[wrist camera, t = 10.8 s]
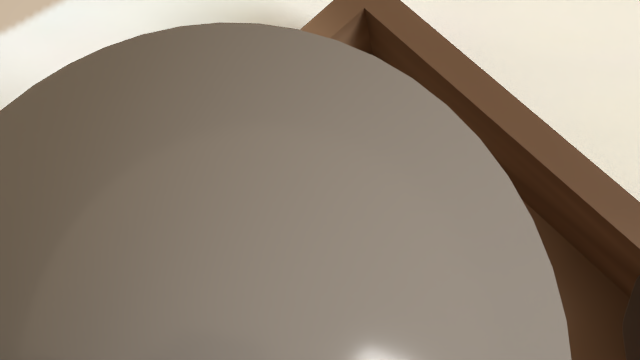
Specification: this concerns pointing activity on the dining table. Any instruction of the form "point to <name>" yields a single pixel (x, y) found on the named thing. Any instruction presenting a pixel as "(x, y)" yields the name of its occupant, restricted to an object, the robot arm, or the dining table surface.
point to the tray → (519, 168)
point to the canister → (260, 211)
